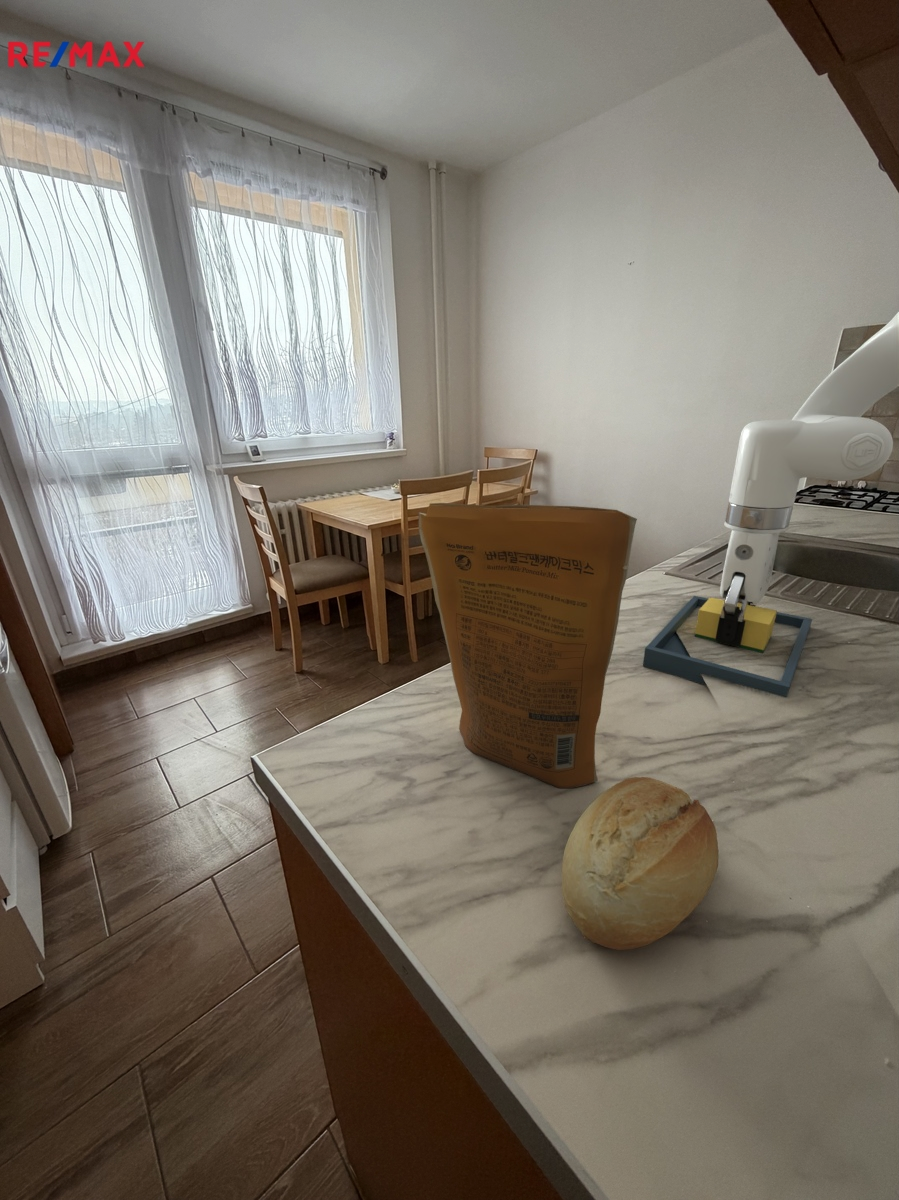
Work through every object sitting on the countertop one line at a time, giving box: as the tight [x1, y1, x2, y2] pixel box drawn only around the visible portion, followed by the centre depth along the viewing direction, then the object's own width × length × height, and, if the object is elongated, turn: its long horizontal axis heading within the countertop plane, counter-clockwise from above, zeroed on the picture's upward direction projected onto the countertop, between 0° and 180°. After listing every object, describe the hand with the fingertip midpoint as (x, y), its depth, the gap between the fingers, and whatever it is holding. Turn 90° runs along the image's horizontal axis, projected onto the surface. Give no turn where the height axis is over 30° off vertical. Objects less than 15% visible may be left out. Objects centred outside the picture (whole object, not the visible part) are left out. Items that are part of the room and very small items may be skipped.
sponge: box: [694, 597, 778, 654], centre depth 72 cm, size 6×9×5 cm, turn 49°
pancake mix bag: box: [418, 502, 638, 789], centre depth 47 cm, size 7×19×28 cm, turn 56°
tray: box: [642, 595, 813, 698], centre depth 72 cm, size 24×17×3 cm
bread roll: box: [561, 776, 719, 951], centre depth 37 cm, size 10×15×8 cm, turn 135°
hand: (733, 633), depth 73 cm, fingers closed on sponge, 6 cm apart
